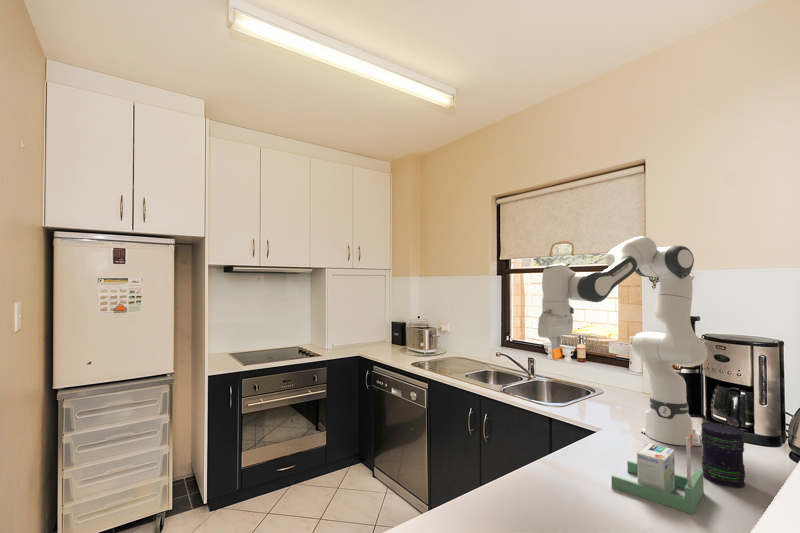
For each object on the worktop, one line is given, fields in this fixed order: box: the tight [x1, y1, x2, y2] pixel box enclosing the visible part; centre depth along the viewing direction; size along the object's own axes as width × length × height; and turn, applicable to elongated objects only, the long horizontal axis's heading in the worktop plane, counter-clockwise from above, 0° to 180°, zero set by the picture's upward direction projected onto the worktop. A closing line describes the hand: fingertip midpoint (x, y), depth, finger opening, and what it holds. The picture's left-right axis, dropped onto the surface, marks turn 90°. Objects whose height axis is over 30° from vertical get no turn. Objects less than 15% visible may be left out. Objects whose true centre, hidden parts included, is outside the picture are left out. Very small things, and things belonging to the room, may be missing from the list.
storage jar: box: [700, 421, 746, 489], centre depth 117 cm, size 10×10×15 cm
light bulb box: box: [636, 443, 676, 494], centre depth 111 cm, size 11×7×11 cm, turn 133°
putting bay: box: [611, 433, 705, 515], centre depth 111 cm, size 15×18×18 cm
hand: (555, 348), depth 141 cm, fingers closed
